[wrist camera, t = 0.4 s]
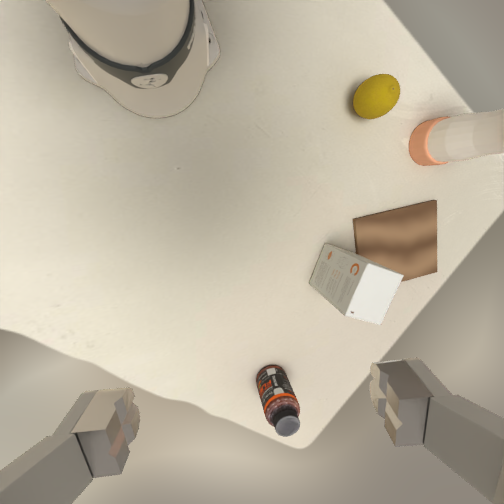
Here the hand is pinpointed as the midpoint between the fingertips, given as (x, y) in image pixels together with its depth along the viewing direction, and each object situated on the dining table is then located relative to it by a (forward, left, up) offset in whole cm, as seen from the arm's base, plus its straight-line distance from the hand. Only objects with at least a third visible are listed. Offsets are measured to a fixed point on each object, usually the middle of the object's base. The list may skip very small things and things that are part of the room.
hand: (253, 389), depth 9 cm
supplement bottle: (+31, +4, -37) cm, 49 cm away
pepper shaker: (-6, +39, -37) cm, 54 cm away
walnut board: (+11, +32, -37) cm, 50 cm away
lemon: (-14, +27, -37) cm, 48 cm away
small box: (+12, +19, -37) cm, 44 cm away
